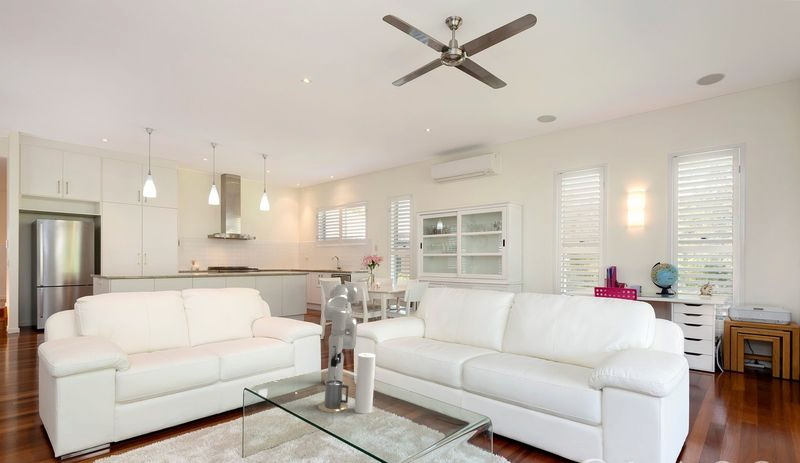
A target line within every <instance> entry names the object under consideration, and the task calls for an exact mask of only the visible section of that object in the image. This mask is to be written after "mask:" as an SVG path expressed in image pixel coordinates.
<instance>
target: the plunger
mask: <svg viewBox="0 0 800 463" xmlns="http://www.w3.org/2000/svg"><path fill="white" fill-rule="evenodd" d="M337 364H339V357H337ZM336 367H337V366H336ZM336 367H335V369H334V382H329V383H328V384H330V385H339V384H340V383H339V382H335V381H336Z"/></svg>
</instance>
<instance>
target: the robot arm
mask: <svg viewBox="0 0 800 463" xmlns="http://www.w3.org/2000/svg"><path fill="white" fill-rule="evenodd" d="M358 294H359V293H358V288H357V286H356V285H354V284H344V283H343V284H341V283H340V284H338V285H336V286H335V287H334V288H333V289H331V290H330V292H329V296H330V297H329V299H328V300H327V301H326V303H325V305H324V309H323V317H324V319H325V320H327V321H331V328H330V329H331V331H330V335H329V337H328V362H327V363H328V365H327V377H326V378H327V379H325V380H324V385H326V382H327V381H329V380H334V369H335V367H336V366H337V367H336V380H339V381H342V380H343V378H344V377H343V375H344V374H343V373H344V363H345V362H344V361H345V355H344V352H343V350H354V349H355V348H356V345H357V329H358V322H357V318H356V317H353V316H350V312H351V311H350V310H349V308H348V307H346V305H347V303H350V304H351V303H352V304H353V303H355V302H356V301H357V300H358ZM346 332H348V333H346ZM337 357H339V364H337ZM344 382H345V381H344ZM344 382H343V384H344V385H345V383H344Z"/></svg>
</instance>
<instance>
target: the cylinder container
mask: <svg viewBox="0 0 800 463" xmlns="http://www.w3.org/2000/svg"><path fill="white" fill-rule="evenodd" d="M376 356H377V355H376V354H375V353H371V352H361V353H358V354H357V369H356V383H355V384H356V385H355V397H354V398H355V399H354V412H355V413H357V414H363V415H364V414H370V413H372V412H373V400H374V389H375V388H374V387H375V384H374V383H375V373H376V372H375V371H376V370H375V369H376Z"/></svg>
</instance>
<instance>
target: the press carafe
mask: <svg viewBox="0 0 800 463" xmlns="http://www.w3.org/2000/svg"><path fill="white" fill-rule="evenodd" d="M329 382H334V380H329V381H327V382H326V384H325V389H324V390H325V391H324V401H321V402H319V403H318V404H317V409H318V410H320V411H322V412H325V413H341V412H343V411H346V410H347V409H348V402H349V389H350V385H348V384H347V385H346V384H344V385H343V382H342V381H339V380H336V381H335V382H339V383H340V384H339V385H330V384H328V383H329ZM343 388H344V389H345V399H343V390H344V389H343Z"/></svg>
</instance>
